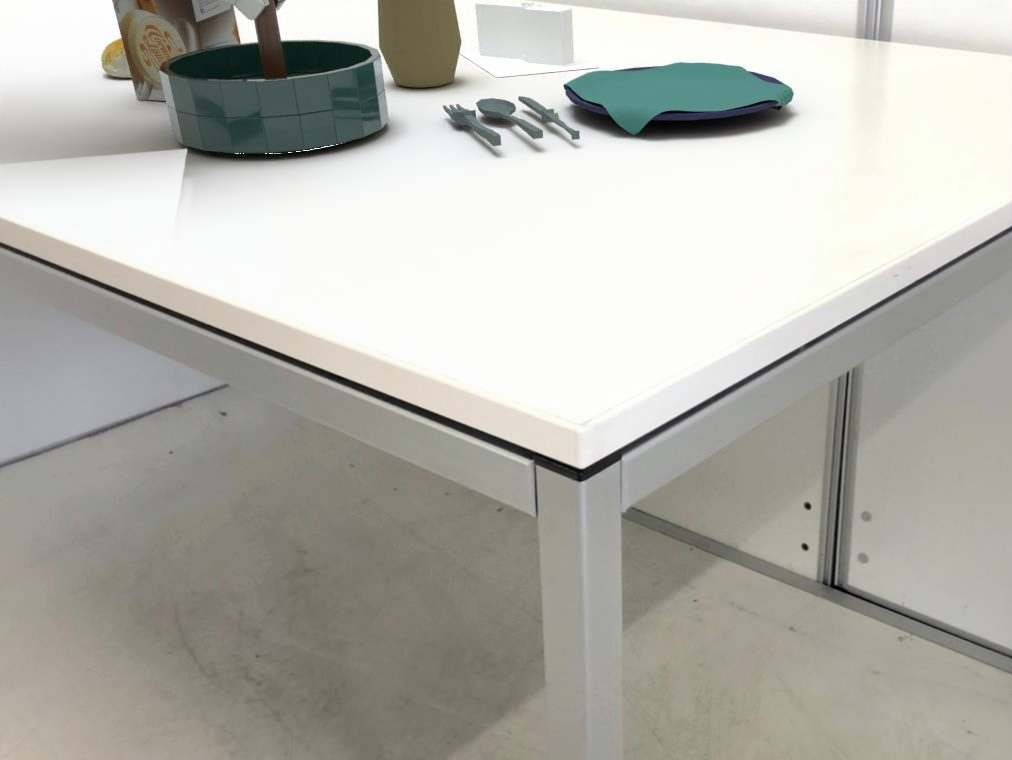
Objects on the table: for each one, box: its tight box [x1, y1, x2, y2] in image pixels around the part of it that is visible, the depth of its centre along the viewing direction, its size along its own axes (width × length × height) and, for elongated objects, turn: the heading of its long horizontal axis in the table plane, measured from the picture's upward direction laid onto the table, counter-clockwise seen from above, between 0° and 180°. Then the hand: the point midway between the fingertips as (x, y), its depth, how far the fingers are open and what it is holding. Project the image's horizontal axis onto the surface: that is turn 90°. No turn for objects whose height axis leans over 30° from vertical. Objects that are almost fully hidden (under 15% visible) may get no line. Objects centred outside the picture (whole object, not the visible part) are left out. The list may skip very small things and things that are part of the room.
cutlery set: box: [442, 61, 795, 147], centre depth 98 cm, size 20×30×2 cm, turn 113°
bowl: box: [159, 39, 390, 154], centre depth 93 cm, size 17×17×6 cm
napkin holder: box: [459, 0, 600, 78], centre depth 119 cm, size 15×11×6 cm
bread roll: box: [100, 37, 132, 79], centre depth 117 cm, size 8×9×4 cm
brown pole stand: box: [253, 0, 287, 79], centre depth 89 cm, size 5×5×16 cm
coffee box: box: [111, 0, 242, 102], centre depth 103 cm, size 9×6×16 cm
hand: (270, 9), depth 88 cm, fingers closed on brown pole stand
